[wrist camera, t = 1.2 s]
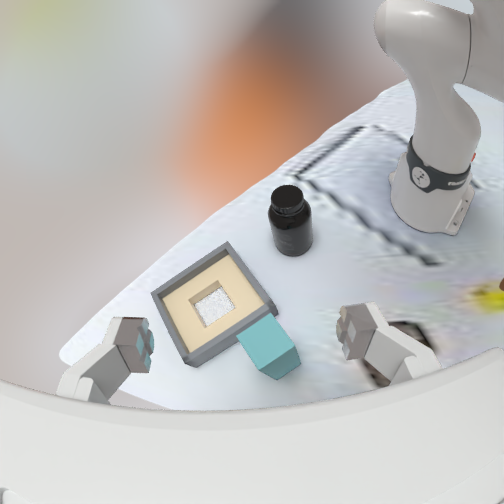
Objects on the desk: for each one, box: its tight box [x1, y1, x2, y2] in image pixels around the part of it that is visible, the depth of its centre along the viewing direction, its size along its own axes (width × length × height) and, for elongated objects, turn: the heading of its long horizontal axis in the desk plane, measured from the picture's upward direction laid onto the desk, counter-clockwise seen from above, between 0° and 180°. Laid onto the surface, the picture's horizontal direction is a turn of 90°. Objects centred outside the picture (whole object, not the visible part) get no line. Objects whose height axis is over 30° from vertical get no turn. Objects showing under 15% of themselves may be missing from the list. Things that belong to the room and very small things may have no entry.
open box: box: [151, 241, 279, 368], centre depth 45 cm, size 16×14×4 cm
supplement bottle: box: [268, 185, 313, 256], centre depth 46 cm, size 7×7×12 cm
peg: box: [236, 313, 301, 380], centre depth 34 cm, size 4×4×15 cm
